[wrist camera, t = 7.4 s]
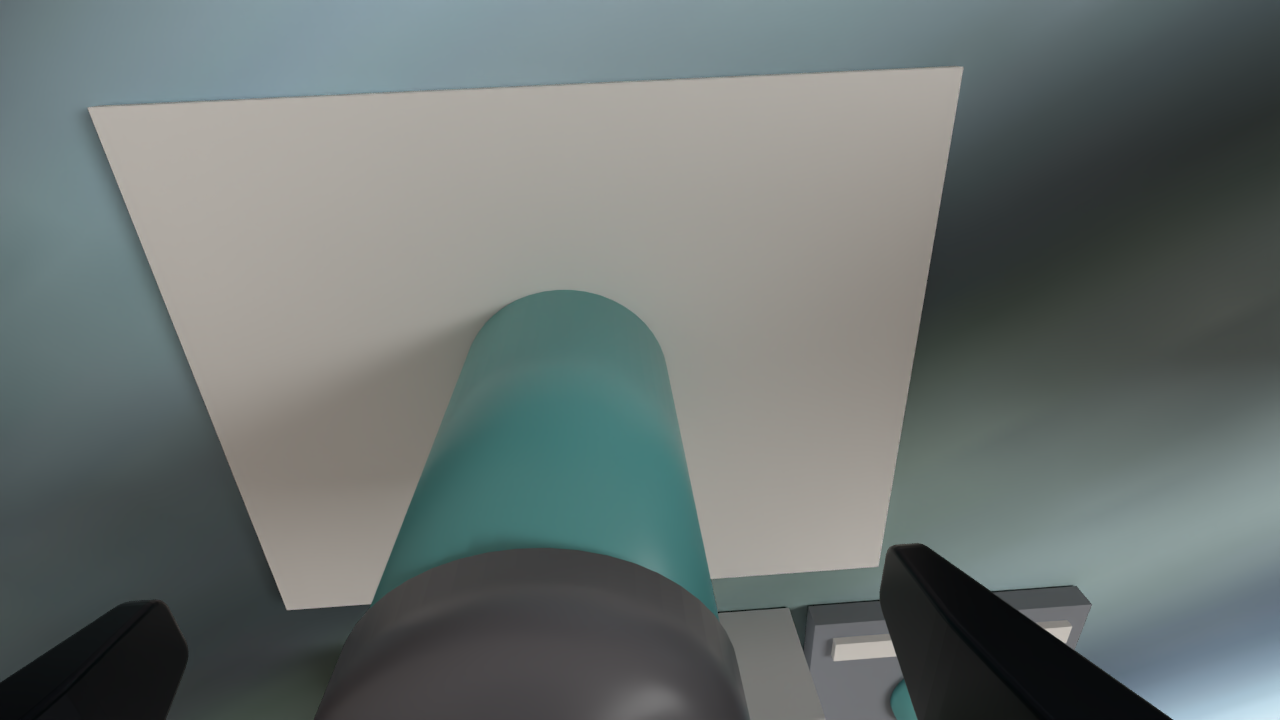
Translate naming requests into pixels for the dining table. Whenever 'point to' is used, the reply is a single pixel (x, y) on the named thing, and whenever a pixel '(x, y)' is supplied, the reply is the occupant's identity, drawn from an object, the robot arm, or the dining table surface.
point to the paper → (549, 286)
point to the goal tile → (867, 663)
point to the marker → (548, 543)
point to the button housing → (772, 665)
